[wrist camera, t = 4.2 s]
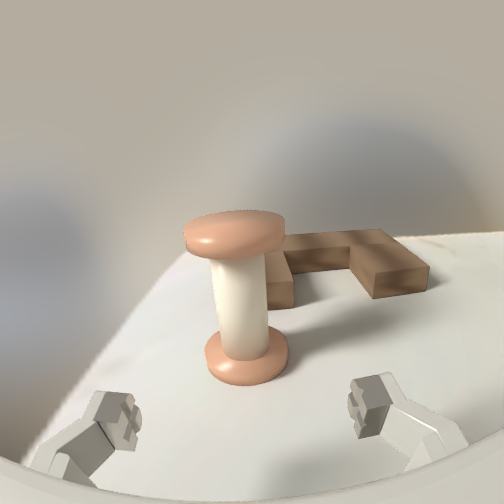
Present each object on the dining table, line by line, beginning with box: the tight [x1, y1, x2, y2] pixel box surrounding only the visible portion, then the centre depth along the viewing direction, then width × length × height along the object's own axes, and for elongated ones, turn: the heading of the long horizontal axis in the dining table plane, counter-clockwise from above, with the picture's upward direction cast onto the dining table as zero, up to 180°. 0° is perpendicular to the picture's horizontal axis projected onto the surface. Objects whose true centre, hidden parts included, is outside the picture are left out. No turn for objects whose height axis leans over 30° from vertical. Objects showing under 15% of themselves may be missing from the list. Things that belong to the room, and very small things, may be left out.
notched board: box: [264, 229, 430, 310], centre depth 36 cm, size 22×14×3 cm, turn 93°
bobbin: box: [184, 210, 288, 386], centre depth 22 cm, size 6×6×11 cm
